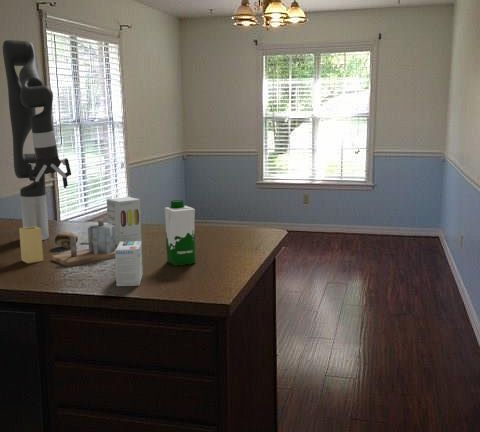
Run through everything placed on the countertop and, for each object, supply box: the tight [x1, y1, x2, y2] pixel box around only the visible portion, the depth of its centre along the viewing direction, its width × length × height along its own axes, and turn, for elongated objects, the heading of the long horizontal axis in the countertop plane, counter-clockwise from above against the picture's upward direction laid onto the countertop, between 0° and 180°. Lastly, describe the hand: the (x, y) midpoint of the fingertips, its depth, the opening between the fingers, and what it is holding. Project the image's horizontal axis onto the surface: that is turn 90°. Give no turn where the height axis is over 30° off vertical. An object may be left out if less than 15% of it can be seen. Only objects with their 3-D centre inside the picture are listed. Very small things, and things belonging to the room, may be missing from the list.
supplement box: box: [106, 196, 142, 247], centre depth 212 cm, size 10×9×17 cm
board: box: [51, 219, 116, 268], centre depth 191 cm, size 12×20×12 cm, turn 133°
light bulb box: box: [114, 240, 143, 287], centre depth 164 cm, size 11×7×11 cm, turn 5°
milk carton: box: [164, 199, 196, 267], centre depth 183 cm, size 9×9×20 cm
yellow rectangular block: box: [18, 226, 44, 264], centre depth 188 cm, size 5×5×11 cm
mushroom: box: [54, 231, 79, 249], centre depth 207 cm, size 8×8×6 cm
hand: (52, 189), depth 203 cm, fingers open, 8 cm apart
